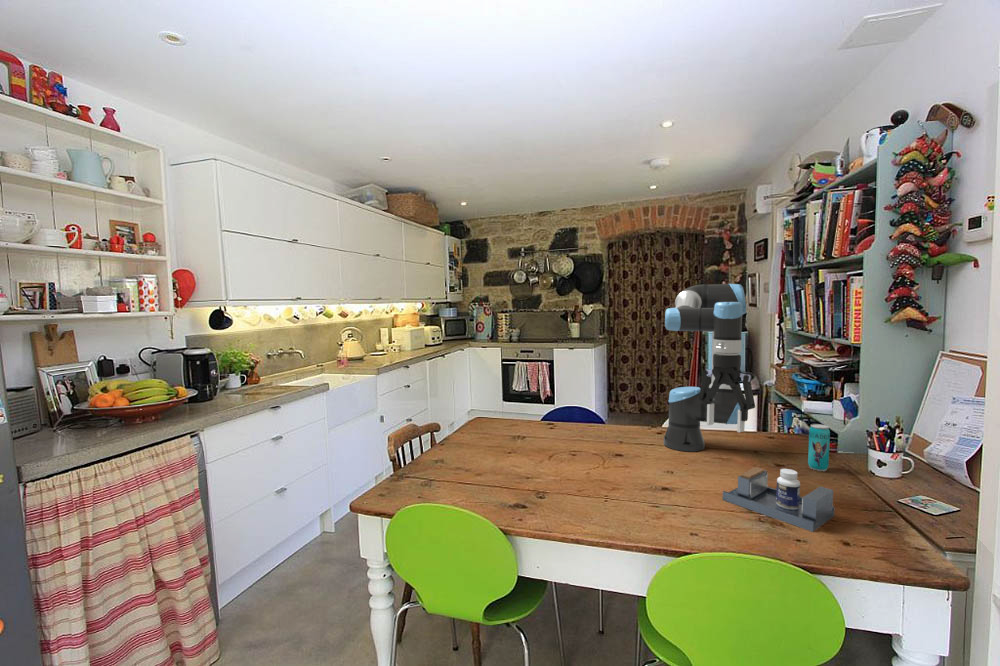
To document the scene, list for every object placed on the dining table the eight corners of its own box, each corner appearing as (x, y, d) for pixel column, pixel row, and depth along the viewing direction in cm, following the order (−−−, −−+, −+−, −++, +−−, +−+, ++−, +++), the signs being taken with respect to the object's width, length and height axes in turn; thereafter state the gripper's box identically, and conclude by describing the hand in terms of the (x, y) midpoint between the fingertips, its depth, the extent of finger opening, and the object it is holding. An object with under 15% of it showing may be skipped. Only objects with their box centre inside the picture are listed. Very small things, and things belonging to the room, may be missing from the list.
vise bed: (722, 500, 133) (723, 474, 132) (746, 488, 141) (747, 464, 140) (812, 531, 114) (814, 502, 114) (834, 515, 122) (835, 488, 122)
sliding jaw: (737, 497, 131) (738, 474, 130) (756, 487, 137) (756, 466, 137) (749, 501, 128) (750, 478, 127) (768, 491, 134) (768, 469, 134)
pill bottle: (774, 506, 125) (775, 471, 124) (777, 500, 129) (778, 466, 128) (797, 512, 121) (799, 476, 121) (800, 505, 125) (801, 470, 125)
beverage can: (809, 470, 154) (810, 427, 153) (806, 465, 160) (808, 422, 158) (829, 473, 152) (831, 429, 151) (826, 467, 157) (828, 424, 156)
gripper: (686, 351, 143) (685, 422, 145) (758, 358, 126) (756, 438, 127) (700, 349, 147) (698, 418, 149) (771, 355, 130) (768, 433, 132)
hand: (725, 427), depth 138 cm, fingers open, 9 cm apart
